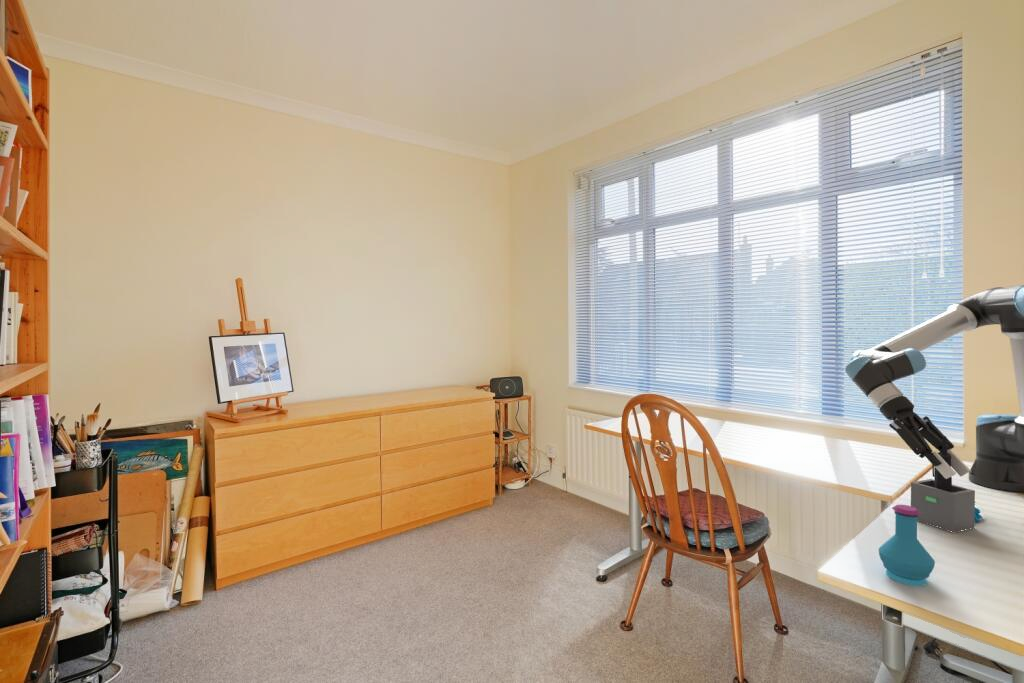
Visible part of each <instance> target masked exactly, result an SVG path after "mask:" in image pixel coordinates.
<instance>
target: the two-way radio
mask: <svg viewBox="0 0 1024 683" xmlns="http://www.w3.org/2000/svg"><path fill="white" fill-rule="evenodd" d="M947 439H948V437H947V436H946V435H944V436H943V437H942V450H941V451H942V452H940V451H938V452H937V453H938V454H939V455H940V456H941V457H942V458H943V459H944V461H945V462H946V463H947V464H948V465H949V466H950V467H951V455H950V454H949V453H947ZM931 466H932V467H931V468H932V477H933V478H934V480H935V488H937V489H941V490H945V491H948V492H951V490H952V485H953V480H952V479H953V476H951V477H950V478H948V479H945V478H944V477H943V475H942V474H941V473H940V472H939V471H938V470H937V469H936V468H935V467H934V465H933V464H932V463H931ZM951 468H952V467H951Z"/></svg>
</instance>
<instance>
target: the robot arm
mask: <svg viewBox="0 0 1024 683" xmlns="http://www.w3.org/2000/svg"><path fill="white" fill-rule="evenodd" d="M992 325H1000V331H1001V334H1003V335H1005V336H1006V337H1008V338H1009V343H1010V344H1009V345H1010V350H1011V358H1012V364H1013V372H1014V377H1015V378H1014V379H1015V384H1016V385H1015V386H1016V391H1017V392H1016V393H1017V399H1018V405H1019V414H998V413H997V414H994V413H993V414H992V413H991V414H989V413H988V414H985V413H984V414H980V415H979V416H978V417H977V419H976V424H975V452H976V453H975V458H974V461H973V462H972V466H971V467H970V468H969V467H968V466H967V465H966V464H965V463H964V461H963V460H961V459H960V458H959V457H958V456H957V455H956V453H955V452H954V451H953V450H952V449H954V448H955V445H954V443H952V442H951V441H950V439H948V438H947V453H949V454H950V455H951V467H950V466H949V465H948V464H947V463H946V462H945V461H944V459H943V458H942V457H941V456H940V455H939V454H938V452H942V451H941V450H942V437H943V436H945V435H944V434H943V432H941V430H939V428H938V427H937V426H936V425H935V424H934V423H933V422H932V420H931V419H930V418H929V417H928V416H924V417H920V416H919V414H917V413H916V412H915V411H914V408H915V405H914V403H913V402H912V401H911V400H909V398H908V397H907V396H904V393H903V392H902V391H901V390H900V389H899V388H898V387H897V386H896V384H894V383H893V382H895V381H898V380H902V379H904V378H907V377H911V376H914V375H916V374H917V373H920V372H922V371H924V370H925V369H926V366H927V361H926V358H925V356H924V355H923V353H922V351H924V350H926V349H928V348H930V347H933V346H935V345H937V344H939V343H941V342H943V341H945V340H947V339H950V338H951V337H953V336H955V335H957V334H959V333H962V332H964V331H965V332H969V331H970V332H971V331H974V330H975V329H977V328H980V327H985V326H992ZM844 371H845V373H846V374H847V376H848V377H849V378H850V380H851V381H852V382H853V383H854V384H855V385H856V386H857V387H858V389H860V391H862V393H863V394H864V395H865V396H866V397H867V398H868V399H869V400H870V402H871V403H872V405H874V406H875V407H876V408H877V409H879V412H880V413H881V414H882V415H883V416H884V418H886V420H888V421H892V422H890V423H889V425H888V427H889V428H891V429H893V431H895V432H896V434H897V435H898V436H899V437H900V438H901V439H902V440H903V442H904V443H906V445H907V446H908V447H909V449H911V451H912V452H913V453H914V454H915V455H917V456H918V457H919V458H921V459H923V458H925V459H927V460H928V461H929V462H930V464H931V465H932V464H933V465H934V467H935V468H936V469H937V470H938V471H939V472H940V473H941V474H942V475H943V477H944V478H945V479H948V478H950V477H953V476H955V475H959V477H963V476H965V475H966V474H968V481H969V482H971V483H973V484H977V485H979V486H982V487H986V488H991V489H996V490H1000V491H1008V492H1017V493H1018V492H1019V493H1024V284H1020V285H1014V286H1013V285H1012V286H1003V287H1002V286H1000V287H999V286H998V287H991V288H988V289H985V290H982V291H979V292H977V293H975V294H972V295H970V296H968V297H966V298H963V299H962V300H959V301H958V302H955V303H953V304H951V305H950V306H948V307H947V310H946V311H945V312H943V313H941V314H938V315H936V316H934V317H932V318H930V319H928V320H926V321H925V322H922V323H919V325H916V326H914V327H912V328H910V329H909V330H906V331H904V332H902V333H900V334H898V335H896V336H894V337H892V338H890V339H888V340H885V341H884V342H882V343H880V344H877V345H876V346H873V347H872V348H871V347H870V348H869V349H866V348H865V349H859V350H856V351H854V353H853V354H852V355H851V357H850V361H849V362H848V363H847V364H846V366H845V367H844ZM929 444H930V445H932V446H933V447H934V448H935V449H936V450H937V451H938V452H937V451H935V450H934V451H933V449H932V448H931V446H930V445H929Z"/></svg>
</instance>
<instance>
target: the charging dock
mask: <svg viewBox="0 0 1024 683" xmlns="http://www.w3.org/2000/svg"><path fill="white" fill-rule="evenodd" d="M975 496H976V491H975V490H974V489H971V488H967V487H963V486H960V485H959V486H958V485H956V484H952V490H951V492H948V491H945V490H941V489H937V488H935V479H933V478H928V479H922V480H918V481H917V480H916V481H912V482H910V506H912V507H914V508H916V509H917V510H918V511H919V512H920V513H921V514H919V515H918V518H917V520H919V521H918V522H920V521H922V522H921V523H923V522H925V523H924V524H926V523H928V524H927V525H929V524H931V525H930V526H932V525H934V526H933V527H935V526H938V527H941V528H943V529H942V530H944V529H946V530H945V531H947V530H949V531H952V532H957V533H959V532H958V531H961V530H965V529H970V528H974V529H975V521H974V518H975V508H976V507H975V505H976V497H975ZM938 527H937V528H938ZM941 528H940V529H941ZM970 530H971V529H970ZM949 531H948V532H949ZM965 531H966V530H965ZM952 532H951V533H952ZM961 532H962V531H961Z"/></svg>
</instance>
